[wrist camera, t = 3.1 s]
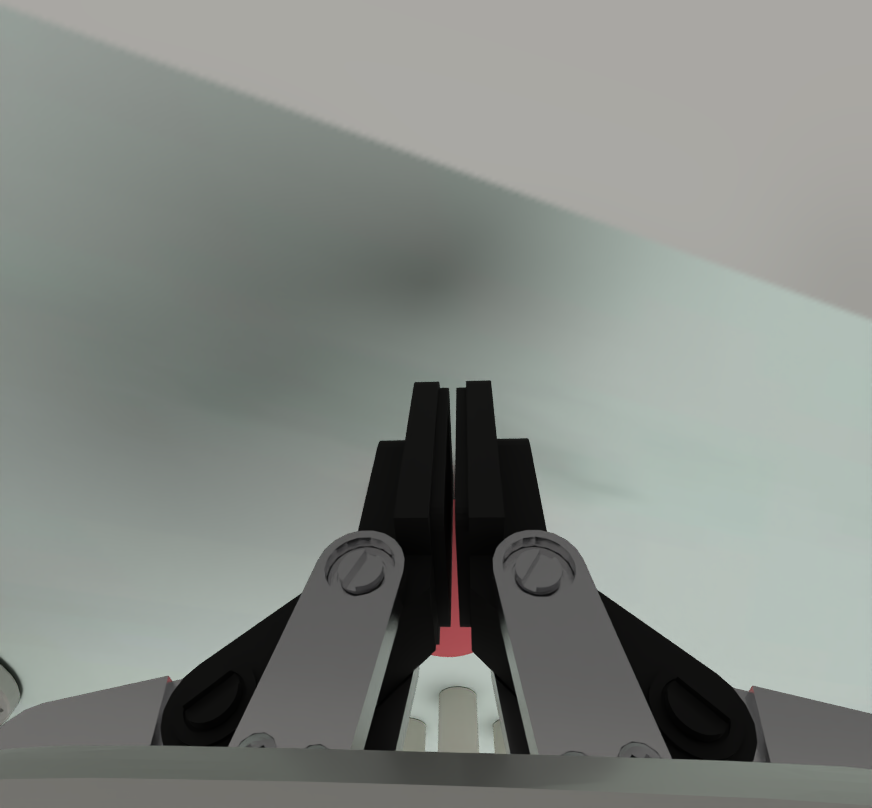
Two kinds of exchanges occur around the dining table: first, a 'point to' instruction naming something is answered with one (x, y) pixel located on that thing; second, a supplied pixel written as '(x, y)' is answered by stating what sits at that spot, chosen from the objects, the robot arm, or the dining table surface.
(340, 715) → the robot arm
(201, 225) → the dining table surface
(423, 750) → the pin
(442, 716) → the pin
